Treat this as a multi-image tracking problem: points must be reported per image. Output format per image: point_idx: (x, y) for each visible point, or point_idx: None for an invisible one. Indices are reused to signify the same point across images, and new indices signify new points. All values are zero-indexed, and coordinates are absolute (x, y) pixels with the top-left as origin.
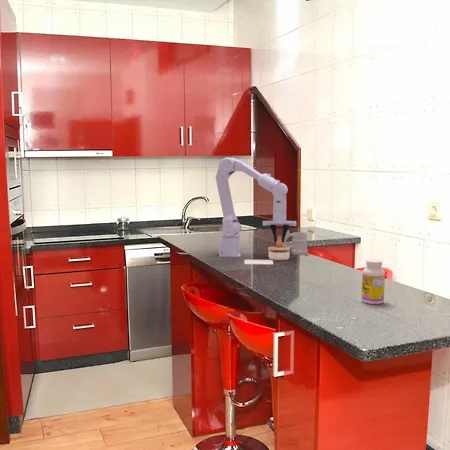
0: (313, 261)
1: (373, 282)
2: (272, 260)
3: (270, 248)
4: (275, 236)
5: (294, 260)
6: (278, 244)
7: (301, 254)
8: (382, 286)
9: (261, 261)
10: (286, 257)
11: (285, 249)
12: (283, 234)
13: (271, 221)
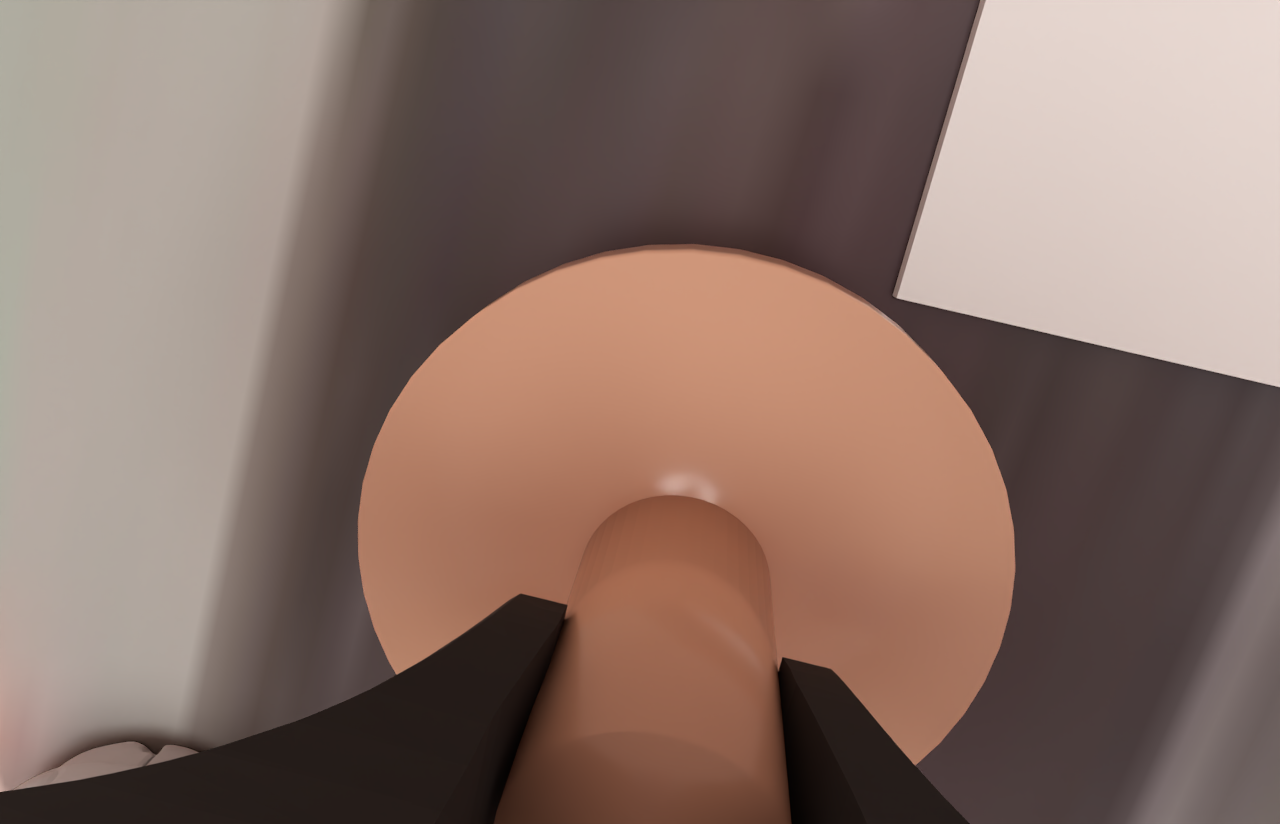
0: (18, 85)
1: None
2: (923, 222)
3: (995, 464)
4: (865, 774)
5: (396, 269)
6: (720, 556)
7: (135, 753)
8: None
9: (1237, 133)
10: None
11: (567, 269)
12: (462, 730)
13: None
